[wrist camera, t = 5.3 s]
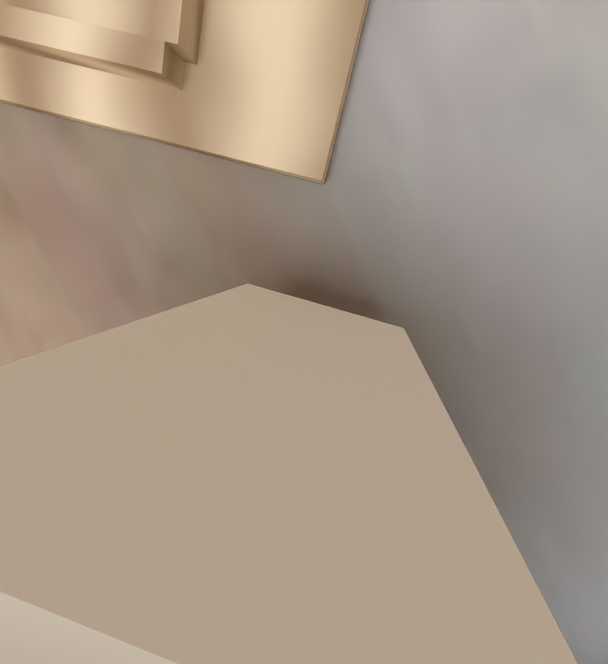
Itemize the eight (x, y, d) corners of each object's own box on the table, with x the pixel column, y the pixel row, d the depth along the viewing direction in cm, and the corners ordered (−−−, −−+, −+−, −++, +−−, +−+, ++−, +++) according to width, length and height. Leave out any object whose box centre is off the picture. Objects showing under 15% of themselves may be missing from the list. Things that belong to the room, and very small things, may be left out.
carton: (403, 328, 11) (681, 866, 1) (330, 533, 14) (258, 1218, 4) (246, 282, 12) (-311, 464, 2) (204, 488, 14) (-127, 1003, 5)
